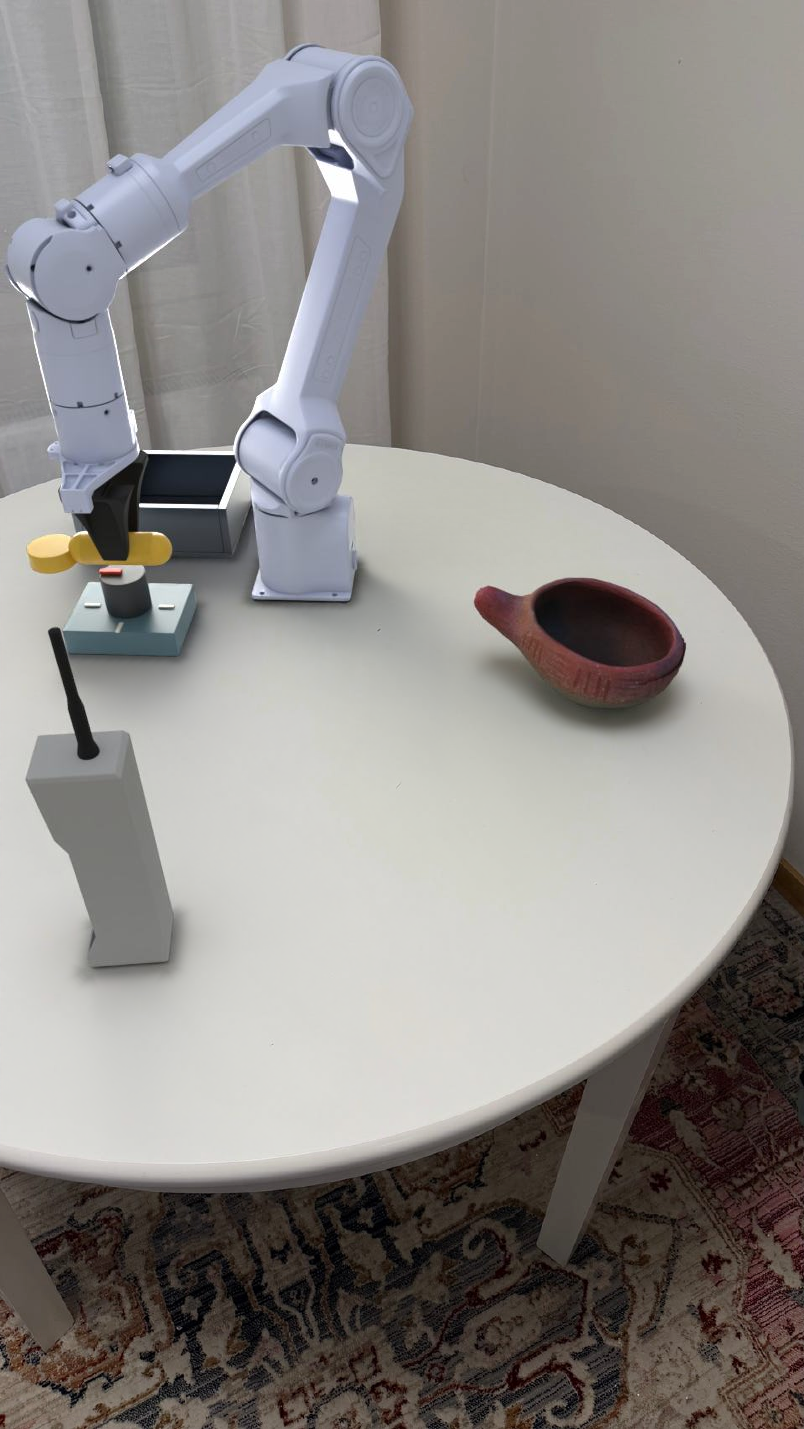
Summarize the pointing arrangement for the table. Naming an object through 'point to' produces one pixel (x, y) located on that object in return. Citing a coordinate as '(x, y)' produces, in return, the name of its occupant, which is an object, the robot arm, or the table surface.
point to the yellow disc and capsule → (94, 551)
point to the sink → (193, 501)
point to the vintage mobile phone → (103, 831)
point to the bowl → (589, 639)
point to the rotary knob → (125, 590)
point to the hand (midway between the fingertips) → (120, 548)
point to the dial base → (131, 623)
